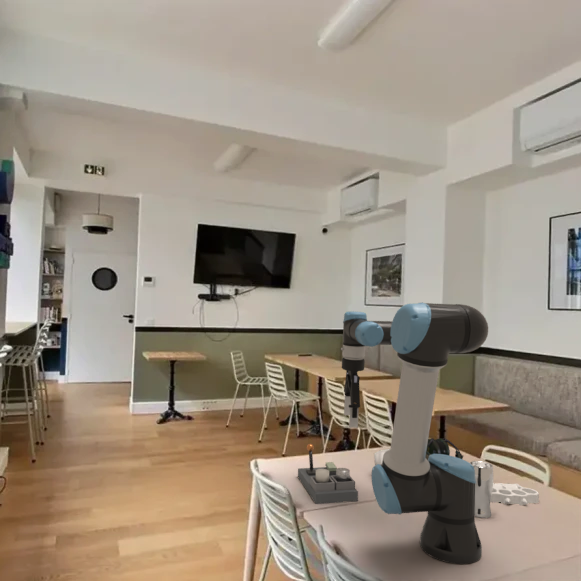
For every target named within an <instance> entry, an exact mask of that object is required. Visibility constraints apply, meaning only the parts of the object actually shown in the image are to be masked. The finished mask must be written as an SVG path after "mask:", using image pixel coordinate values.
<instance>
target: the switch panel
mask: <svg viewBox="0 0 581 581" xmlns="http://www.w3.org/2000/svg"><path fill="white" fill-rule="evenodd" d="M317 469H327V467H326V466H321V467H313V471H311V470H310V467H302V468H300V467H299V468H297V478H298V477H299V478H298V480H299V481H300V480H301V481H300V482H301V484H302V485H303V487H304V488H305V490H306V492H307V493H308V494H309V496H310V498H311V499H312V500H313V503H314V504H317V505H318V504H333V503H334V504H335V502H336V503H344V502H343V501H351V502H358V501H359V491H358V490H357V489H356V480H355V479H354V478H352V477H351V476H350V479H349V481H347V482H341V481H338V480H336V471H329V482H327V483H319V482H317V481H316V470H317ZM327 470H328V469H327Z"/></svg>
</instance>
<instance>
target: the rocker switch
mask: <svg viewBox="0 0 581 581" xmlns="http://www.w3.org/2000/svg"><path fill="white" fill-rule="evenodd" d="M324 467H327V469H328V470H329V471H336V469H337V468H338V467H337V466H336V464H335V463H334V461H331V462H330V461H329V462H328V461H326V462H325V465H324Z"/></svg>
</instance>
